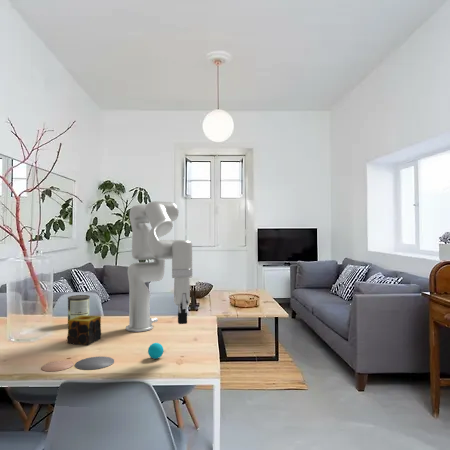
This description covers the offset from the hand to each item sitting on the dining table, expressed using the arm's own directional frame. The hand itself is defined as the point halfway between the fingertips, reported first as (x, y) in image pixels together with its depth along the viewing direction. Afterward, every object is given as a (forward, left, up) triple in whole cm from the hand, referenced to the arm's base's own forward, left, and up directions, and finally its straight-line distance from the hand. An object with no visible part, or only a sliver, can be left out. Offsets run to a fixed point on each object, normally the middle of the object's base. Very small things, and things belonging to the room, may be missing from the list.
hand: (182, 323), depth 137 cm
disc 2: (+25, -18, -12) cm, 33 cm away
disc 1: (+35, -25, -12) cm, 44 cm away
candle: (+14, -46, -13) cm, 50 cm away
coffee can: (+1, -76, -13) cm, 77 cm away
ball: (+8, -6, -10) cm, 14 cm away
